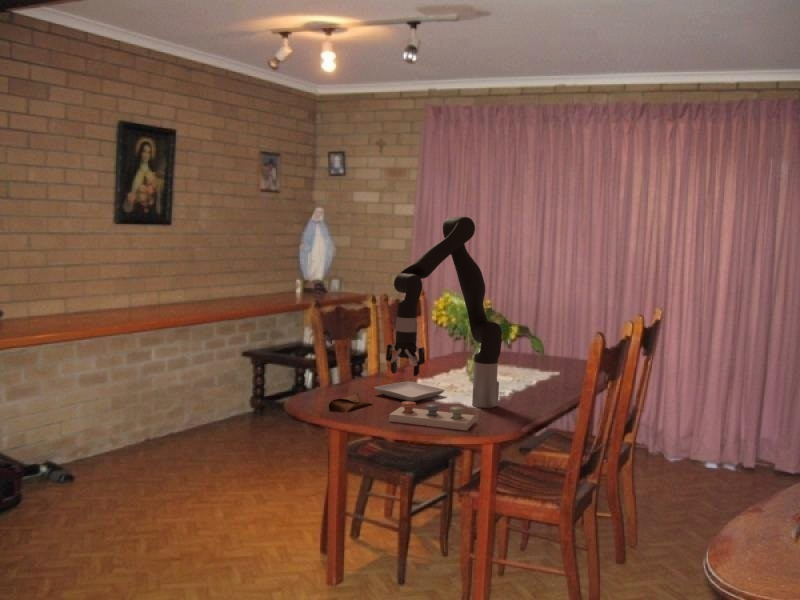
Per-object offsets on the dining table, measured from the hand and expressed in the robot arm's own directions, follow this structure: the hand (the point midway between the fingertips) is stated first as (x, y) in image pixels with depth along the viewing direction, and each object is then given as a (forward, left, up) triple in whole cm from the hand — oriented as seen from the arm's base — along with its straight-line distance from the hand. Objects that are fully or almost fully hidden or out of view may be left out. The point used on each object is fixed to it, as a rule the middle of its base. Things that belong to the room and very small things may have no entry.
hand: (404, 374), depth 281 cm
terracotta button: (-1, +2, -14) cm, 14 cm away
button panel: (-8, +8, -16) cm, 19 cm away
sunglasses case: (+11, -22, -17) cm, 30 cm away
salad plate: (-19, -32, -16) cm, 41 cm away
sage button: (-14, +14, -14) cm, 24 cm away
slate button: (-8, +8, -14) cm, 18 cm away
